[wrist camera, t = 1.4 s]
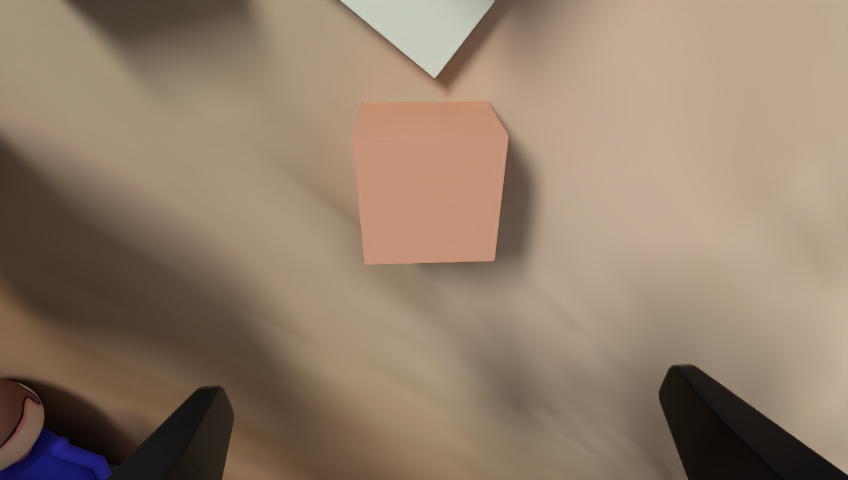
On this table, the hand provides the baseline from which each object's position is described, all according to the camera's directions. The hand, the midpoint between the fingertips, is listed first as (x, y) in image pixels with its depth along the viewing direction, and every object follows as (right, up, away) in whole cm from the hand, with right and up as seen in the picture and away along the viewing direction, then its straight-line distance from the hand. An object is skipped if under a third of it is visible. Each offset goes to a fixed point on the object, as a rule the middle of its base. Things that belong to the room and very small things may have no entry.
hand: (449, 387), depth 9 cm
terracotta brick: (-1, +6, +10) cm, 12 cm away
